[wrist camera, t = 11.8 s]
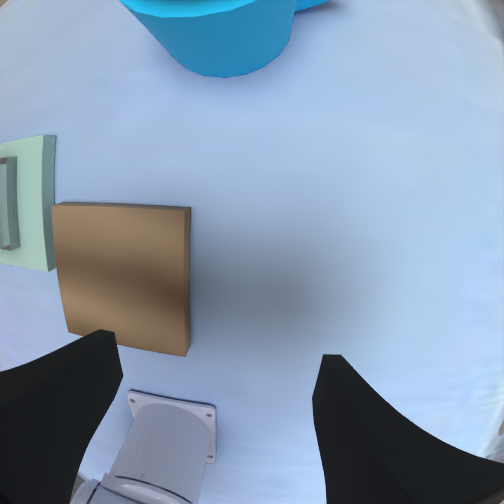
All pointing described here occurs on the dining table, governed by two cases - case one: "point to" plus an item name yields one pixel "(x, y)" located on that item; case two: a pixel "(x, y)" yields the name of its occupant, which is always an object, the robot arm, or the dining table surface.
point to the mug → (220, 31)
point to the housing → (9, 204)
